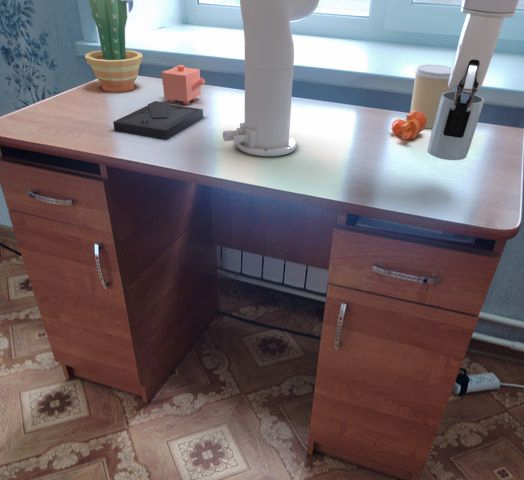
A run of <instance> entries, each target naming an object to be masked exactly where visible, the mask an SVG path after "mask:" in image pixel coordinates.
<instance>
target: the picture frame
mask: <svg viewBox="0 0 524 480" xmlns="http://www.w3.org/2000/svg"><path fill="white" fill-rule="evenodd" d="M202 119H204V109H203V108H197V107H191V106H183V105H177V104H172V103H171V102H166V101H160V100H159V101H158V100H154V101H152V102H149V103H147V105H145V106H143V107H141V108H139V109H137V110H135V111H133V112H131V113H128V114H127V115H126V114H125V116H122V117H120V118H118V119H115V120H114V121H113V122H112V123H113V129H114V131H115V132H122V133H127V134H131V135H139V136H144V137H151V138H154V139H155V138H157V139H163V140H168V139H170V138H172V137H174V136H175V135H176V134H178V133H180V132H181V131H184V130H185V129H187V128H189V127H190V126H192V125H194V124H195V123H197V122H199V121H201V120H202Z"/></svg>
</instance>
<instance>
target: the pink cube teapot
mask: <svg viewBox="0 0 524 480" xmlns="http://www.w3.org/2000/svg"><path fill="white" fill-rule="evenodd" d="M161 81H162V87H163V88H162V89H163V99H164V100H169V103H171V104H173V103H176V102H177V101H179V102H182V104H183V105H190V104H191V103H190V101H193V102H194V101H197V97H199V96H201V95H202V91H201V90H202V89H201V87H202V86H204V85H205V84H206V80H205V79H204V77H201V70H200V68H194V67H186V66H185V65H184V64H178V65H176V66H174V67H172V68H170V69H167V70H162V71H161Z"/></svg>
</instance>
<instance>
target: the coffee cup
mask: <svg viewBox="0 0 524 480" xmlns="http://www.w3.org/2000/svg"><path fill="white" fill-rule="evenodd" d="M451 69H452V66H448V65H441V64H421V65H418V66H417V68H416V69H415V73H414V74H415V77H414V83H413V89H412V96H411V103H410V111H409V113H410V112H412V111H415V110H417V112H421V113H423V114H424V115H425V116H426V118H427V122H426V125H425V129H433V126H434V122H435V118H436V114H437V110H438V106H439V103H440V99H441V95H442V93H445V92H452V91H453V88H454V87H452V89H449V87H448V82H449V77H450V73H451Z"/></svg>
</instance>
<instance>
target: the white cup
mask: <svg viewBox="0 0 524 480" xmlns="http://www.w3.org/2000/svg"><path fill="white" fill-rule="evenodd" d="M455 94H456V92H454V91H453V90H452V91H451V92H445V93H442V95H441V99H440V103H439V106H438V110H437V114H436V118H435V122H434V126H433V128H431V134H430V138H429V141H428V145H427V149H426V151H427V153H428V154H429V155H430V156H433V157H434V158H437V159H441V160H445V161H462V160H465V159H466V158H467V157H468V154H469V151H470V148H471V145H472V141H473V138H474V135H475V132H476V129H477V125H478V122H479V119H480V116H481V113H482V110H483V107H484V103H485V99H484V97H482V96H480V95H478V94H476V93H475V94H474V97H473V101H472V105H471V109H470V111H471V113H470V116H469V119H468V123H467V126H466V129H465V133H464V136H463V137H462V138H458V137H451V136H445V135H444V134H443V132H444V128H445V125H446V121H447V117H448V114H449V110H450V108H451V109H452V105H453V102H454V98H455ZM459 95H460V94H459Z"/></svg>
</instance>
